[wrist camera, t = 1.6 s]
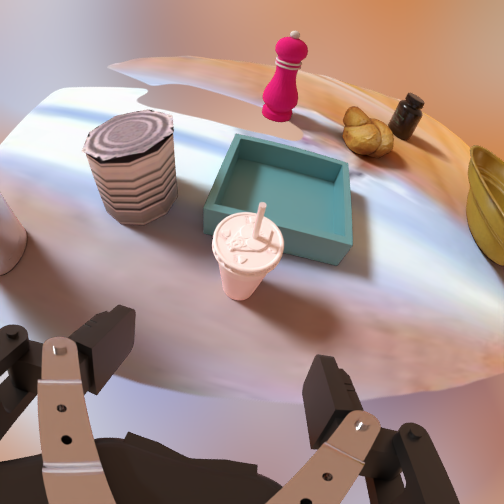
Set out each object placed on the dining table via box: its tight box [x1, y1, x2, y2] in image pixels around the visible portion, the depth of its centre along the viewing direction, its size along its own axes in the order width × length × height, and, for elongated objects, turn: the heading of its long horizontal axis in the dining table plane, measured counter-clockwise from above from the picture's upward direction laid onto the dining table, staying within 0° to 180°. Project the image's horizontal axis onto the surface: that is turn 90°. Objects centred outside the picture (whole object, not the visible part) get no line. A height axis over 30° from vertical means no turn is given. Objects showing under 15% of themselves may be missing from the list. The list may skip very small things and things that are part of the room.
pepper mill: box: [262, 31, 308, 122], centre depth 46 cm, size 7×7×20 cm
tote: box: [203, 134, 353, 266], centre depth 38 cm, size 18×16×5 cm
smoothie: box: [212, 202, 284, 300], centre depth 27 cm, size 6×6×14 cm
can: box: [82, 110, 178, 225], centre depth 33 cm, size 11×11×12 cm
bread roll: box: [343, 106, 394, 158], centre depth 49 cm, size 13×10×8 cm
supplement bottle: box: [388, 93, 424, 140], centre depth 56 cm, size 7×7×12 cm
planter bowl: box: [466, 145, 504, 266], centre depth 40 cm, size 32×32×13 cm
